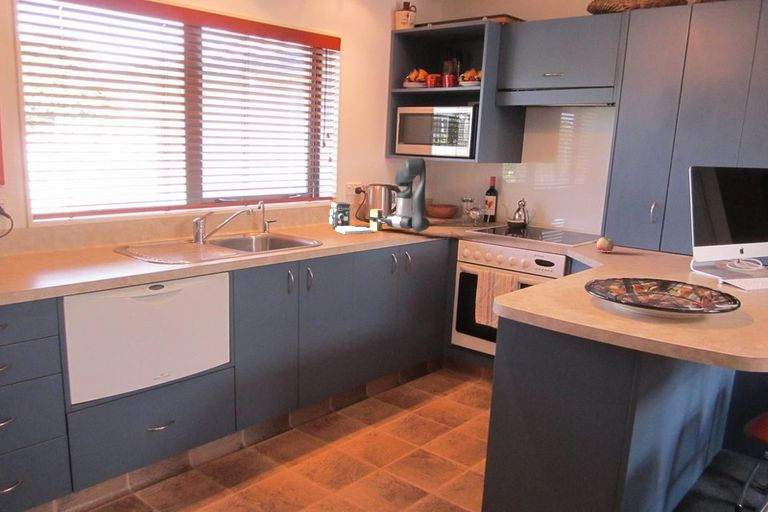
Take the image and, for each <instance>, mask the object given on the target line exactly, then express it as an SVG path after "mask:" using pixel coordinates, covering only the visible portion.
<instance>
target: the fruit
mask: <svg viewBox="0 0 768 512" xmlns="http://www.w3.org/2000/svg"><path fill="white" fill-rule="evenodd" d="M596 248H597V250H603V251H611V252H612V251H613V249H614V248H615V243H614V240H613V239H610V238H608V237H607V236H602V237H600V238H599V239H598V240H597V241H596Z"/></svg>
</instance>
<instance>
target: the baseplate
mask: <svg viewBox="0 0 768 512" xmlns="http://www.w3.org/2000/svg"><path fill="white" fill-rule="evenodd" d="M334 229H335V232H338V233H341V234H343V235H348V234H349V235H351V234H369V233H370V234H372V233H374V231H373V230H372V229H370V227H369V228H367V227H365V226H353V225H350V226H339V227H337V228H334Z"/></svg>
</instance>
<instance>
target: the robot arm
mask: <svg viewBox="0 0 768 512" xmlns="http://www.w3.org/2000/svg"><path fill="white" fill-rule="evenodd" d="M418 176H419V182H418V184H417V188H416V189H415V191H414V192H413V188H414V187H413V186H414V180H415V179H416V177H418ZM426 179H427V165H426V161H425V159H424V158H423V157H419V158H418V157H417V158H408V159H406V161H405V162H404V165H403V167H402V168H401V169H400V170H399V171H397V172H396V174H395V176H394V182H395V185H396V186H398V187H404V188H405V187H406V189H404V190H402V191H399V192H396V205H395V207H396V208H395V210H396V211H395V213H389V214H388V215H382V216H378V217H372V216H369V217H368V220H369V221H370V220H372V221H373V222H378V223H382V224H386V225H387V227H388V228H389V227H390V228H395V229H396V228H397V229H404V230H405V229H406V230H410V229H413V231H415V232H417V233H421V232H423V231H425V230H428V229H429V227H430V224H431V223H430V222H431V221H430V220H429V218H427V217H424V214H425V213H426V211H427V206H426V185H427V183H426Z"/></svg>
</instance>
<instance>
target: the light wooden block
mask: <svg viewBox="0 0 768 512" xmlns="http://www.w3.org/2000/svg"><path fill="white" fill-rule="evenodd" d="M383 213H384V209H380V208H379V209H378V208H371V209H370V213H369V214H370V216H372V217H378V216H384V215H383ZM369 229H372V230H373V232H380V231H383V223H378V222H373V221H372V220H369Z"/></svg>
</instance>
